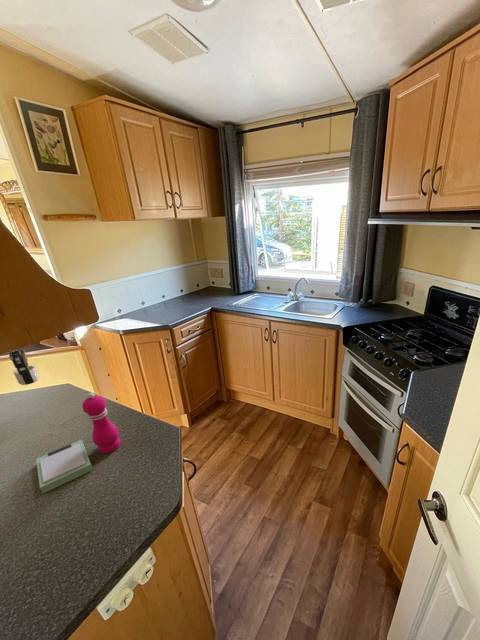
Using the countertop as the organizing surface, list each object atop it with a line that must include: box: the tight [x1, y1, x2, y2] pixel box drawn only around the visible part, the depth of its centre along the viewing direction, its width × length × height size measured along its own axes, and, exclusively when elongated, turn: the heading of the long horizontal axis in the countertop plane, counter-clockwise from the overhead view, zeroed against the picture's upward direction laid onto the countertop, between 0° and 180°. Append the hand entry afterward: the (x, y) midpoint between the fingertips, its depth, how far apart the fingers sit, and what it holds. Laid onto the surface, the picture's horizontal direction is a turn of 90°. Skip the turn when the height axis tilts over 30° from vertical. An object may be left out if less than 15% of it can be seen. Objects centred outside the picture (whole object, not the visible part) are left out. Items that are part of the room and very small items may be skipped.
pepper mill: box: [81, 392, 122, 454], centre depth 88 cm, size 7×7×20 cm
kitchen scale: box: [35, 439, 94, 494], centre depth 84 cm, size 14×12×3 cm
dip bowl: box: [12, 365, 41, 386], centre depth 98 cm, size 6×6×4 cm
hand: (29, 379), depth 99 cm, fingers closed on dip bowl, 6 cm apart
